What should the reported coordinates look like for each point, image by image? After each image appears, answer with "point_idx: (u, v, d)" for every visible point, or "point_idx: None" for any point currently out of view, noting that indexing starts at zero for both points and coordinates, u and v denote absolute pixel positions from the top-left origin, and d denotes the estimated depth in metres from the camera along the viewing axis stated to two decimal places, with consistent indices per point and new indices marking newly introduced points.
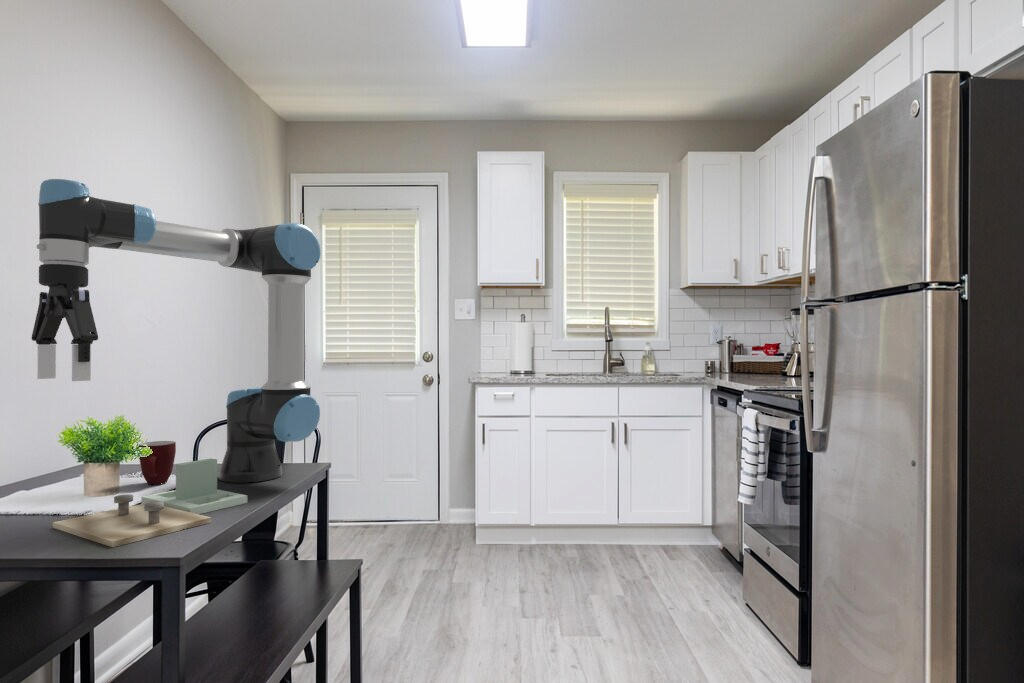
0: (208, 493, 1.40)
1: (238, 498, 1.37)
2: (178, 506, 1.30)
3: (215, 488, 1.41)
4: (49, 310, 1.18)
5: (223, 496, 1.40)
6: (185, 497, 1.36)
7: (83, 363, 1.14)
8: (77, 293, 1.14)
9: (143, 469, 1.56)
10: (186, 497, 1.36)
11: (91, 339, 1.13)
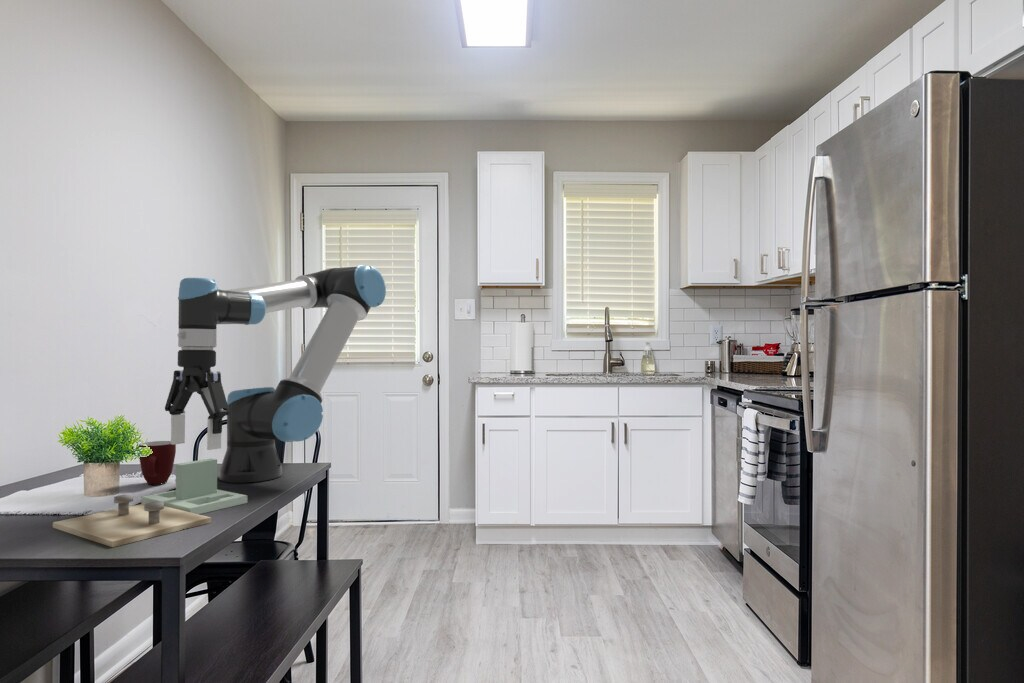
0: (208, 493, 1.40)
1: (238, 498, 1.37)
2: (178, 506, 1.30)
3: (215, 488, 1.41)
4: (184, 387, 1.39)
5: (223, 496, 1.40)
6: (185, 497, 1.36)
7: (216, 434, 1.35)
8: (212, 375, 1.35)
9: (143, 469, 1.56)
10: (186, 497, 1.36)
11: (224, 414, 1.34)
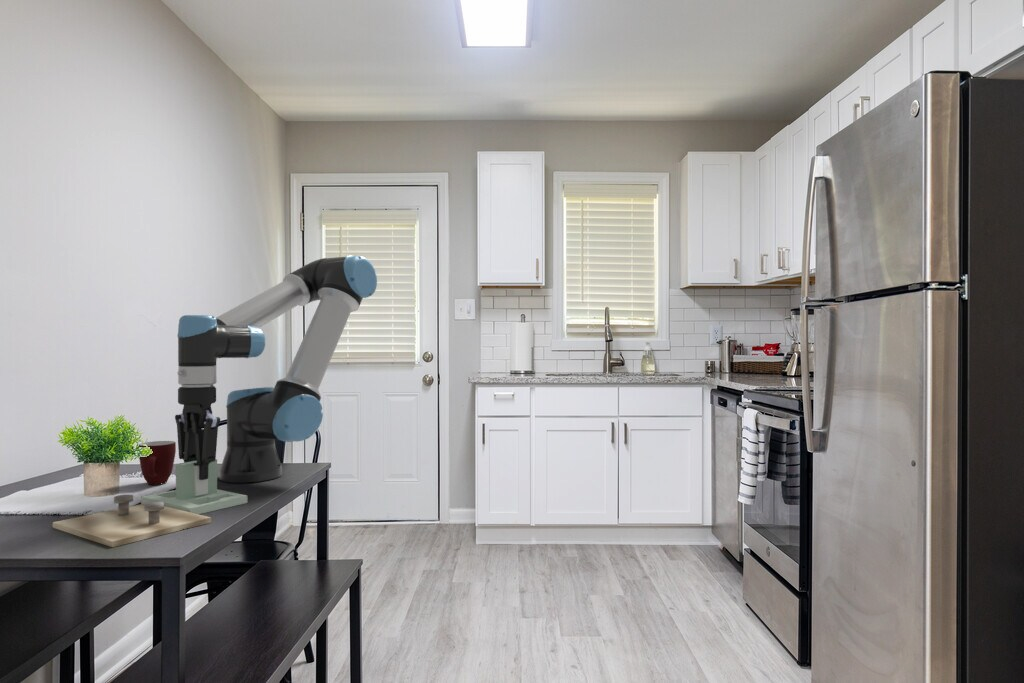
0: (208, 493, 1.40)
1: (238, 498, 1.37)
2: (178, 506, 1.30)
3: (215, 488, 1.41)
4: (188, 425, 1.38)
5: (223, 496, 1.40)
6: (185, 497, 1.36)
7: (202, 480, 1.38)
8: (211, 423, 1.35)
9: (143, 469, 1.56)
10: (186, 497, 1.36)
11: (210, 461, 1.37)
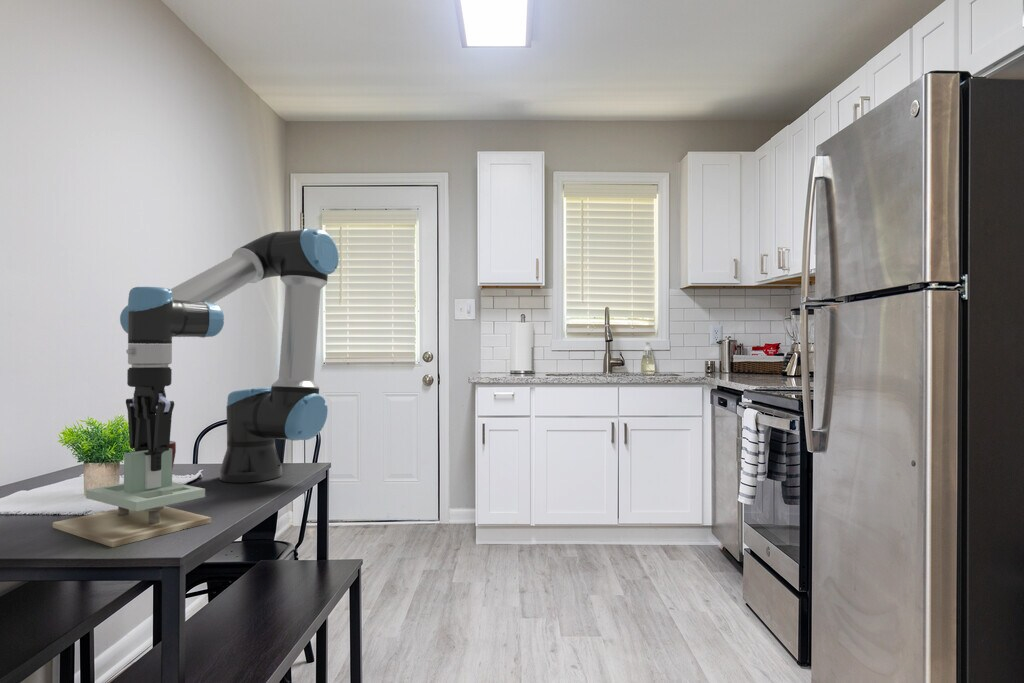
0: (161, 486, 1.25)
1: (194, 492, 1.23)
2: (124, 500, 1.16)
3: (170, 481, 1.27)
4: (139, 410, 1.24)
5: (178, 489, 1.25)
6: (134, 490, 1.21)
7: (155, 471, 1.23)
8: (163, 407, 1.21)
9: None
10: (135, 490, 1.21)
11: (163, 450, 1.22)
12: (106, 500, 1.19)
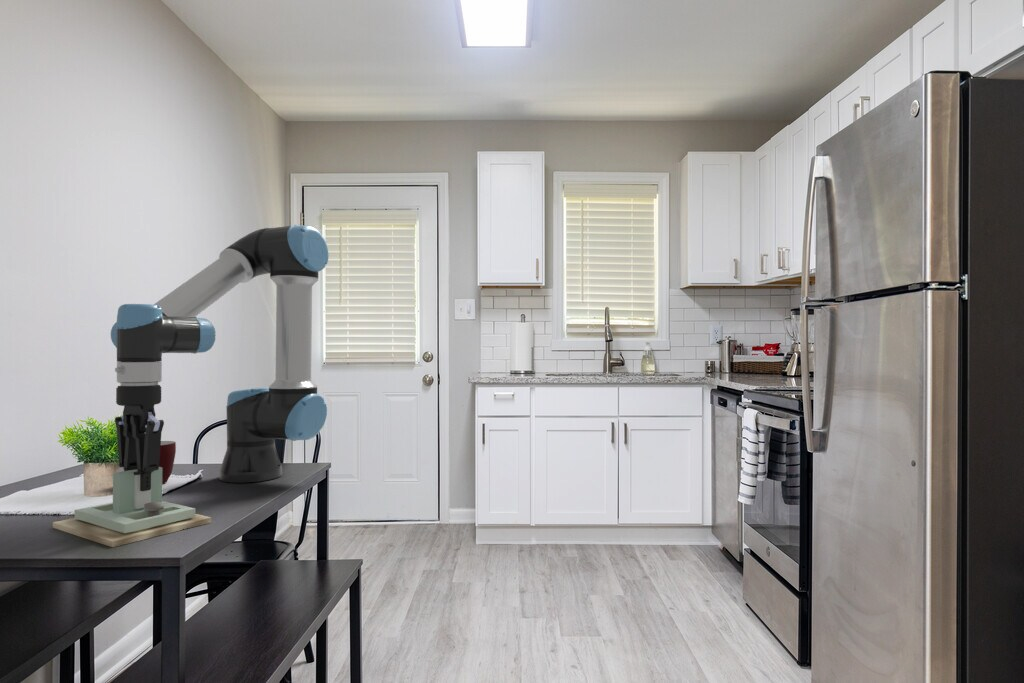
0: None
1: (184, 512, 1.21)
2: (112, 521, 1.14)
3: (160, 500, 1.25)
4: (128, 429, 1.22)
5: (168, 509, 1.23)
6: (123, 511, 1.19)
7: (144, 491, 1.22)
8: (153, 426, 1.19)
9: None
10: (124, 511, 1.19)
11: (153, 470, 1.20)
12: (94, 521, 1.17)
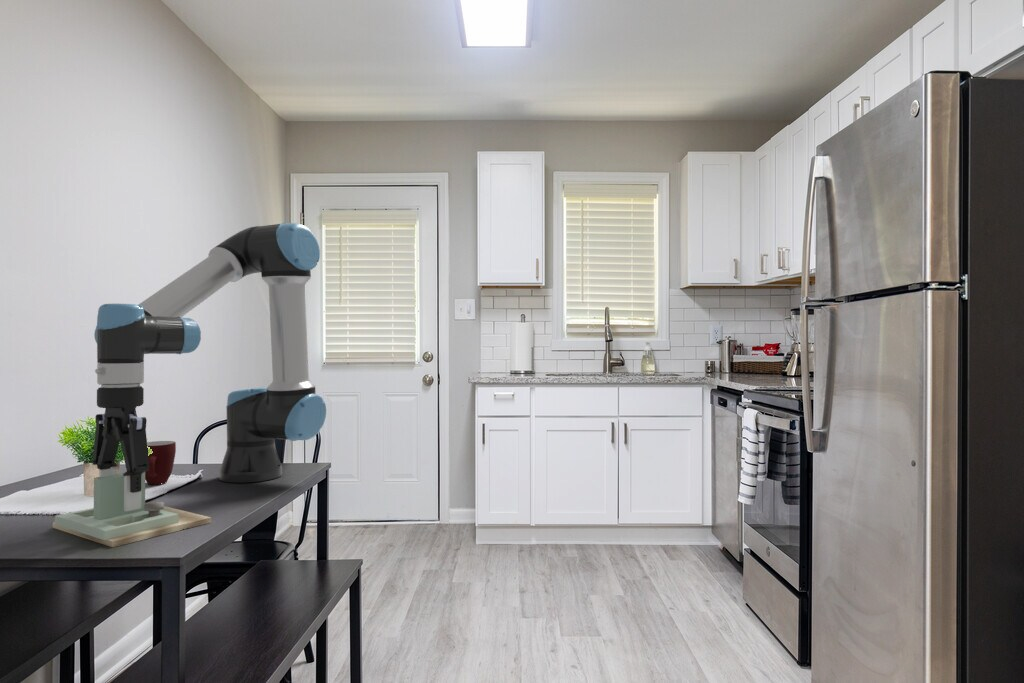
0: (134, 511, 1.21)
1: (167, 517, 1.18)
2: (92, 528, 1.11)
3: (143, 505, 1.22)
4: (107, 431, 1.20)
5: None
6: (104, 516, 1.16)
7: (134, 492, 1.17)
8: (135, 423, 1.16)
9: None
10: (105, 516, 1.17)
11: (143, 470, 1.16)
12: (74, 528, 1.15)
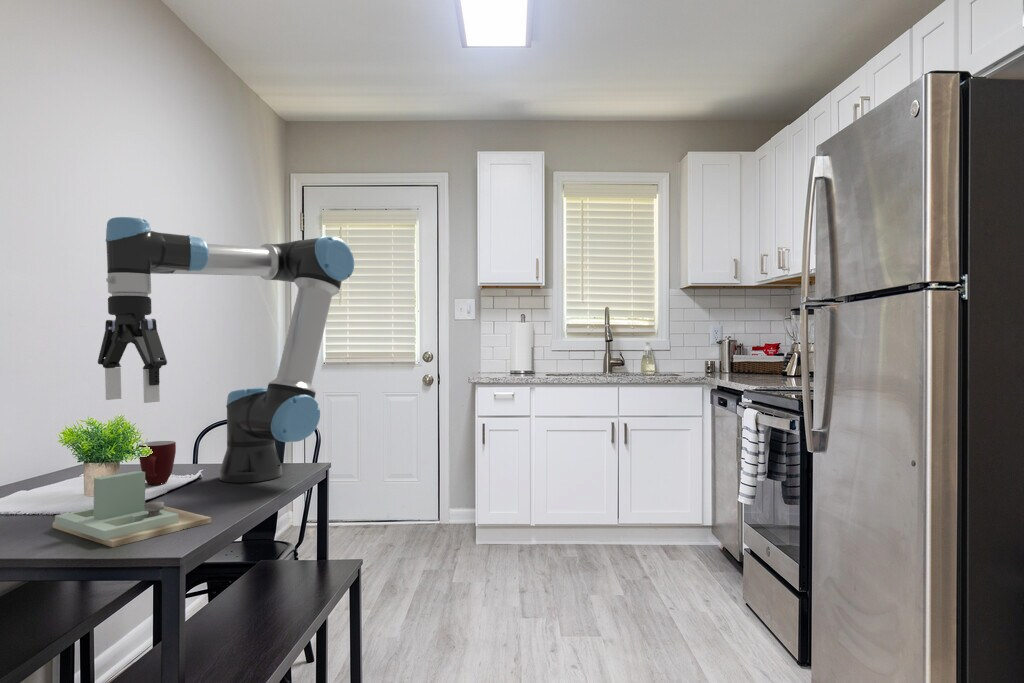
0: (134, 511, 1.21)
1: (167, 517, 1.18)
2: (92, 528, 1.11)
3: (143, 505, 1.22)
4: (117, 337, 1.28)
5: None
6: (104, 516, 1.16)
7: (153, 386, 1.25)
8: (146, 322, 1.24)
9: (143, 469, 1.56)
10: (105, 516, 1.17)
11: (161, 364, 1.24)
12: (74, 528, 1.15)
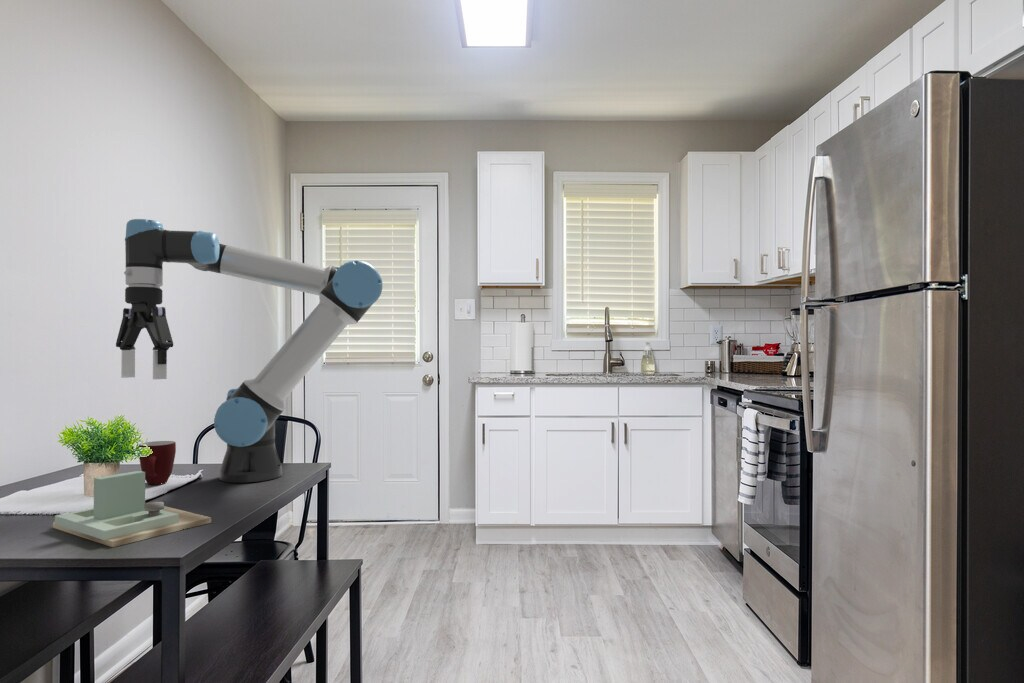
0: (134, 511, 1.21)
1: (167, 517, 1.18)
2: (92, 528, 1.11)
3: (143, 505, 1.22)
4: (132, 323, 1.48)
5: None
6: (104, 516, 1.16)
7: (161, 365, 1.44)
8: (157, 310, 1.44)
9: (143, 469, 1.56)
10: (105, 516, 1.17)
11: (168, 346, 1.43)
12: (74, 528, 1.15)
